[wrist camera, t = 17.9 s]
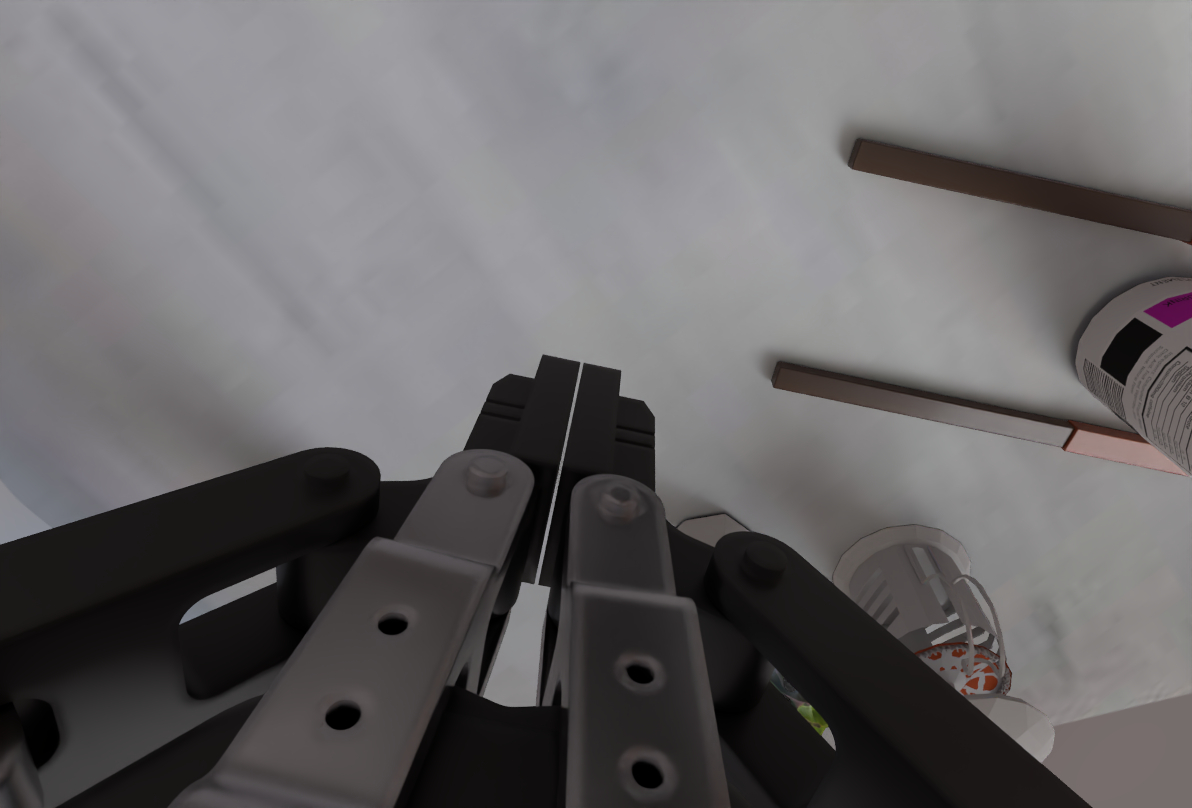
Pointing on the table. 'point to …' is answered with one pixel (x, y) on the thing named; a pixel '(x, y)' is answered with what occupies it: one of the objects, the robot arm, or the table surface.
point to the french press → (940, 620)
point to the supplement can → (1145, 363)
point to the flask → (710, 528)
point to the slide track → (1022, 193)
